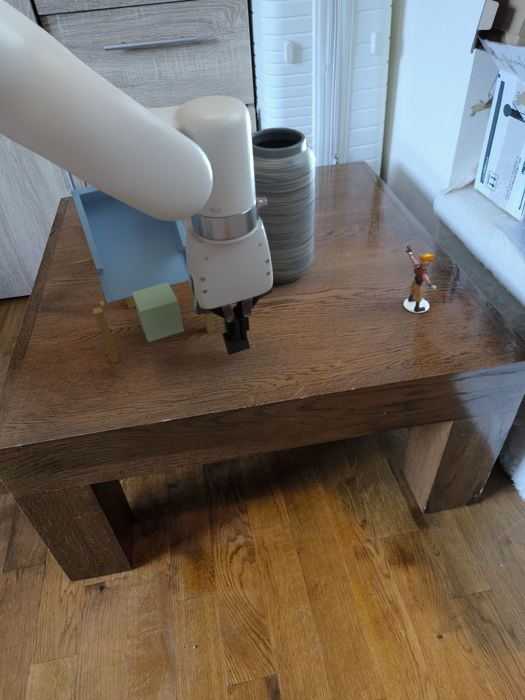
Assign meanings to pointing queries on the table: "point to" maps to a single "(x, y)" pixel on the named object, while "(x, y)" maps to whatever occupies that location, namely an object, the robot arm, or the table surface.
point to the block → (158, 311)
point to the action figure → (418, 283)
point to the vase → (286, 198)
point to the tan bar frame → (130, 302)
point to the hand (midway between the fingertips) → (238, 335)
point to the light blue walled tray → (134, 248)
